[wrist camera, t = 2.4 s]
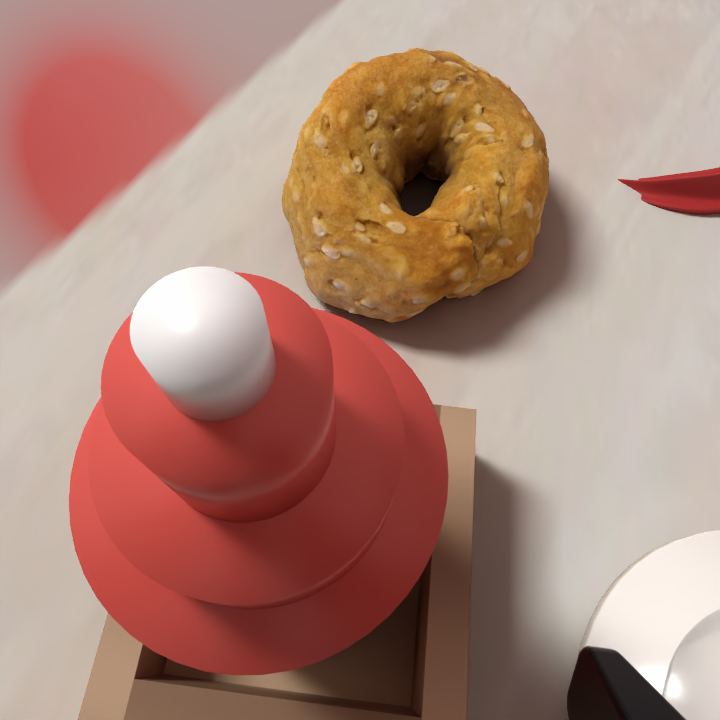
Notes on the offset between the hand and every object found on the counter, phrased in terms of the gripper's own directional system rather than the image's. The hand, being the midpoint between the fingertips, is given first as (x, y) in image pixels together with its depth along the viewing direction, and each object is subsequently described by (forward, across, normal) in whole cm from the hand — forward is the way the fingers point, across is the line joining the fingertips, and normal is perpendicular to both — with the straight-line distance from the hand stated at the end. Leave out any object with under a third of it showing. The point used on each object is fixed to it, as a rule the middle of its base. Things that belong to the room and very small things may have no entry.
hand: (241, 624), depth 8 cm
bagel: (+18, -2, -4) cm, 19 cm away
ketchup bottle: (+8, 0, +5) cm, 9 cm away
